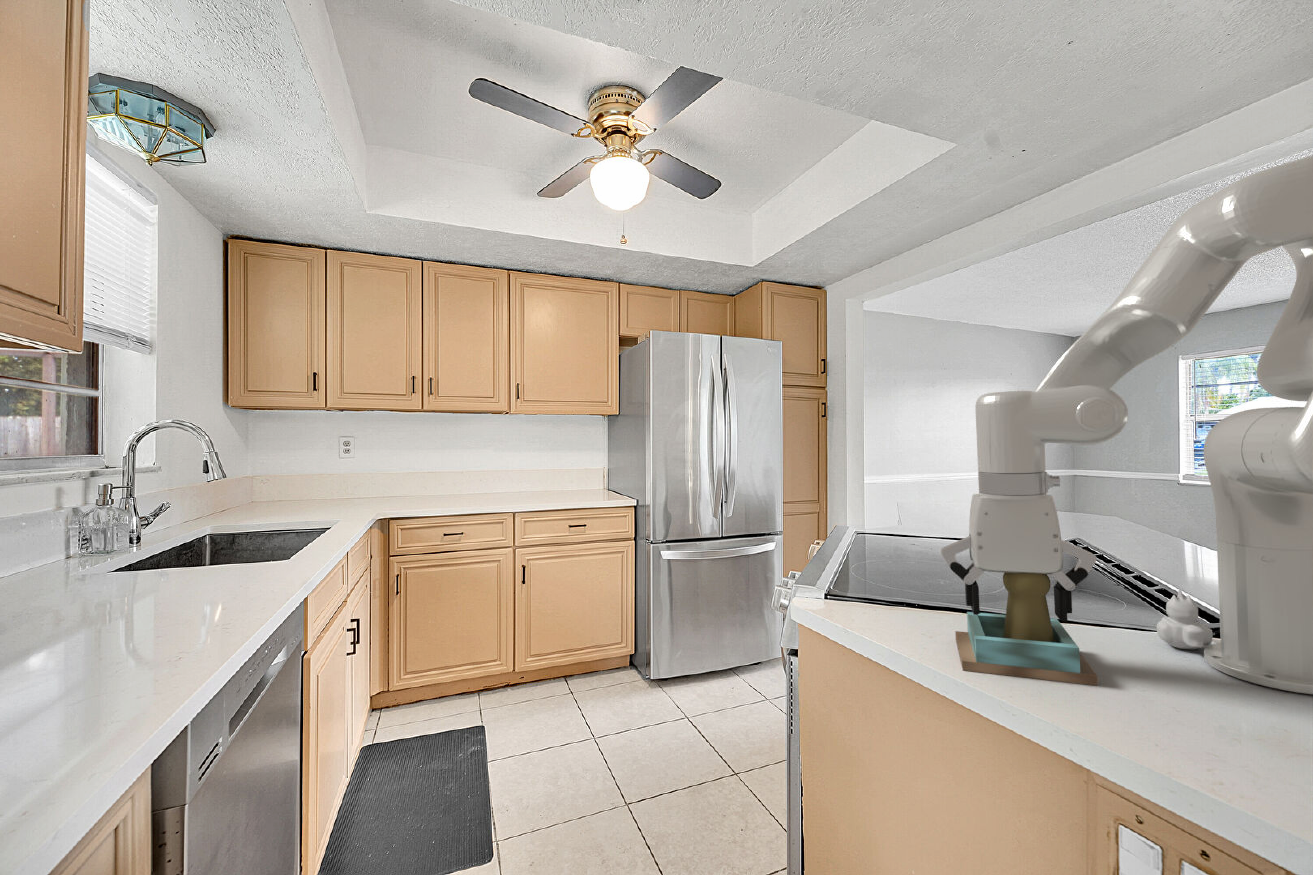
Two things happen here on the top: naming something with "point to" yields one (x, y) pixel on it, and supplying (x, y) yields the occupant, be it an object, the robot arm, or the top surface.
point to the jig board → (1021, 652)
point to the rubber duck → (1183, 624)
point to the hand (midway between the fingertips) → (1017, 614)
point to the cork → (1027, 607)
